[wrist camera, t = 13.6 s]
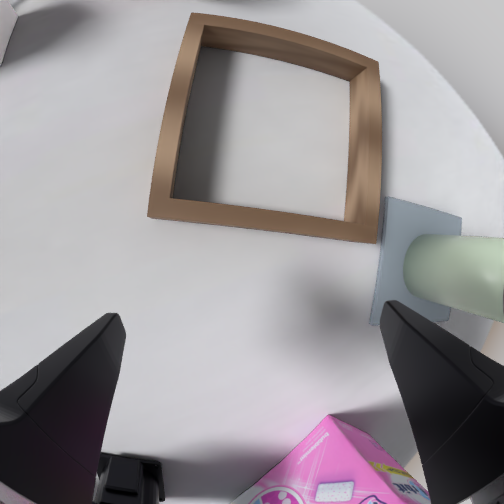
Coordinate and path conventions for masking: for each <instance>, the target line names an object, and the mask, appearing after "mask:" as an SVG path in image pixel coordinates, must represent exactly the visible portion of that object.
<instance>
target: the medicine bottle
mask: <svg viewBox="0 0 504 504" xmlns="http://www.w3.org/2000/svg"><path fill="white" fill-rule="evenodd" d="M17 18H18V15H17V13H16V12H15V10H14V9H13V7H12V6H11V4H10V3H9V1H8V0H0V66H1V64H2V60H3V57H4V54H5V51H6V48H7V45H8V42H9V39H10V36H11V34H12V31H13V28H14V26H15V23H16V21H17Z"/></svg>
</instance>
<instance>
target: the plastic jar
mask: <svg viewBox="0 0 504 504" xmlns="http://www.w3.org/2000/svg"><path fill="white" fill-rule="evenodd" d="M403 277H404V282H405V285H406V287H407V289H408V291H409V292H410V293H411V294H412V295H413V296H415V297H418V298H421V299H425V300H428V301H431V302H435V303H438V304H441V305H445V306H448V307H452V308H455V309H458V310H462V311H465V312H468V313H472V314H475V315H478V316H482V317H485V318H489V319H492V320H495V321H499V322H502V323H504V238H494V237H477V236H457V235H436V234H423V235H420V236H418V237H417V238H415V239H414V240H413V241H412V243H411V244H410V246H409V248H408V250H407V252H406V255H405V258H404V264H403Z"/></svg>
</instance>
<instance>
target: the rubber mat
mask: <svg viewBox="0 0 504 504" xmlns="http://www.w3.org/2000/svg"><path fill="white" fill-rule="evenodd" d="M461 225H462V218H461V217H458V216H455V215H451V214H448V213H445V212H442V211H439V210H435V209H432V208H428V207H425V206H422V205H418V204H415V203H411V202H407V201H404V200H400V199H396V198H393V197H385V208H384V221H383V232H382V242H381V251H380V259H379V267H378V274H377V281H376V288H375V294H374V300H373V306H372V312H371V317H370V322H369V324H371V325H380V316H381V313H382V309H383V305H384V303H385V301H388V300H397V301H399V302H401V303H402V304H404V305H406V306H407V307H409V308H411V309H412V310H414V311H416V312H417V313H419V314H420V315H422V316H424V317H425V318H427V319H428V320H430V321H432V322H438V321H448V319H449V315H450V310H451V307H448V306H445V305H441V304H438V303H435V302H431V301H428V300H425V299H421V298H418V297H415V296H413V295H412V294H411V293H410V292H409V291H408V289H407V287H406V285H405V282H404V277H403V264H404V258H405V255H406V252H407V250H408V248H409V246H410V244H411V243H412V241H413V240H414V239H415V238H417V237H418V236H420V235H423V234H436V235H457V236H461Z"/></svg>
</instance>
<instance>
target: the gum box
mask: <svg viewBox="0 0 504 504" xmlns="http://www.w3.org/2000/svg"><path fill="white" fill-rule="evenodd" d="M230 504H431V501H430V496H429V492H428V491H427V490H426V489H424V488H423V487H422V486H421V485H420V484H419V483H418V482H417V481H416V480H415V479H414V478H413V477H412V476H411V475H410V474H408V472H407V471H405V470H404V469H403V468H402V467H401V466H400V465H399V464H398V463H397V462H396V461H395V460H394V459H393V458H392V457H391V456H390V455H389V454H388V453H387V452H386V451H385V450H384V449H383V448H382V447H381V446H380V445H379V444H378V443H377V442H376V441H375V440H374V439H373V438H372V437H371V436H370V435H369V434H367V433H365V432H363V431H361V430H359V429H357V428H355V427H353V426H351V425H349V424H347V423H345V422H343V421H341V420H339V419H337V418H335V417H333V416H331V415H327V416H326V417H325V418H324V419H323V420H322V422H321V423H320V424H319V425H318V426H317V427H316V428H315V429H314V430H313V431H312V432H311V433H310V434H309V435H308V436H307V437H306V438H305V439H304V440H303V441H302V442H301V443H300V444H298V445H297V446H296V447H295V448H294V449H293V450H292V451H291V452H290V453H289V454H288V455H287V456H286V457H285V458H284V459H283V460H282V461H281V462H280V463H279V464H278V465H276V466H275V467H274V468H273V469H271V470H270V471H269V472H268V473H267V474H265V475H264V476H263V477H262V478H261V479H260V480H259V481H258V482H257V483H256V484H254V485H253V486H252V487H251V488H249V489H248V490H246V491H245V492H244V493H242V494H241V495H240V496H238V497H237V498H236V499H235V500H234V501H232V502H231V503H230Z"/></svg>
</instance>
